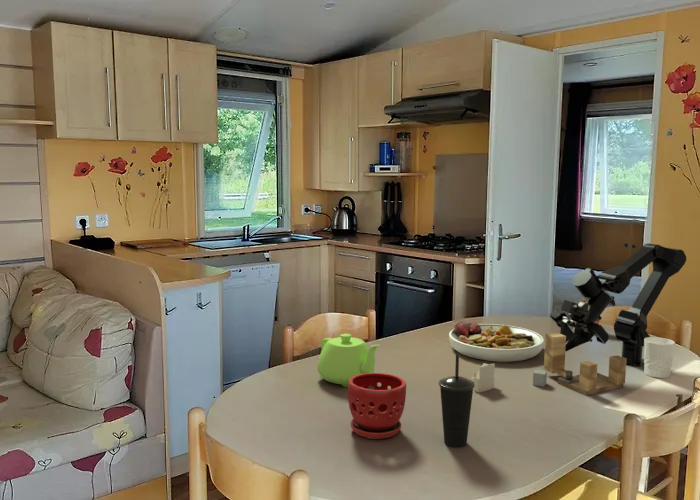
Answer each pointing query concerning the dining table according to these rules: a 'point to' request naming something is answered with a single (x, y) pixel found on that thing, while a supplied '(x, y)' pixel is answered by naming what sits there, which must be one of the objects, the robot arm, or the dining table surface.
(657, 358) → the white cup
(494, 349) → the bowl
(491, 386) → the architectural model
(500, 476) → the dining table surface
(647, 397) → the dining table surface
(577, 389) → the stool seat
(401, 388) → the plant pot
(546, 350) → the folding leg
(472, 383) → the drinking cup
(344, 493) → the dining table surface
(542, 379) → the block
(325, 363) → the teapot
